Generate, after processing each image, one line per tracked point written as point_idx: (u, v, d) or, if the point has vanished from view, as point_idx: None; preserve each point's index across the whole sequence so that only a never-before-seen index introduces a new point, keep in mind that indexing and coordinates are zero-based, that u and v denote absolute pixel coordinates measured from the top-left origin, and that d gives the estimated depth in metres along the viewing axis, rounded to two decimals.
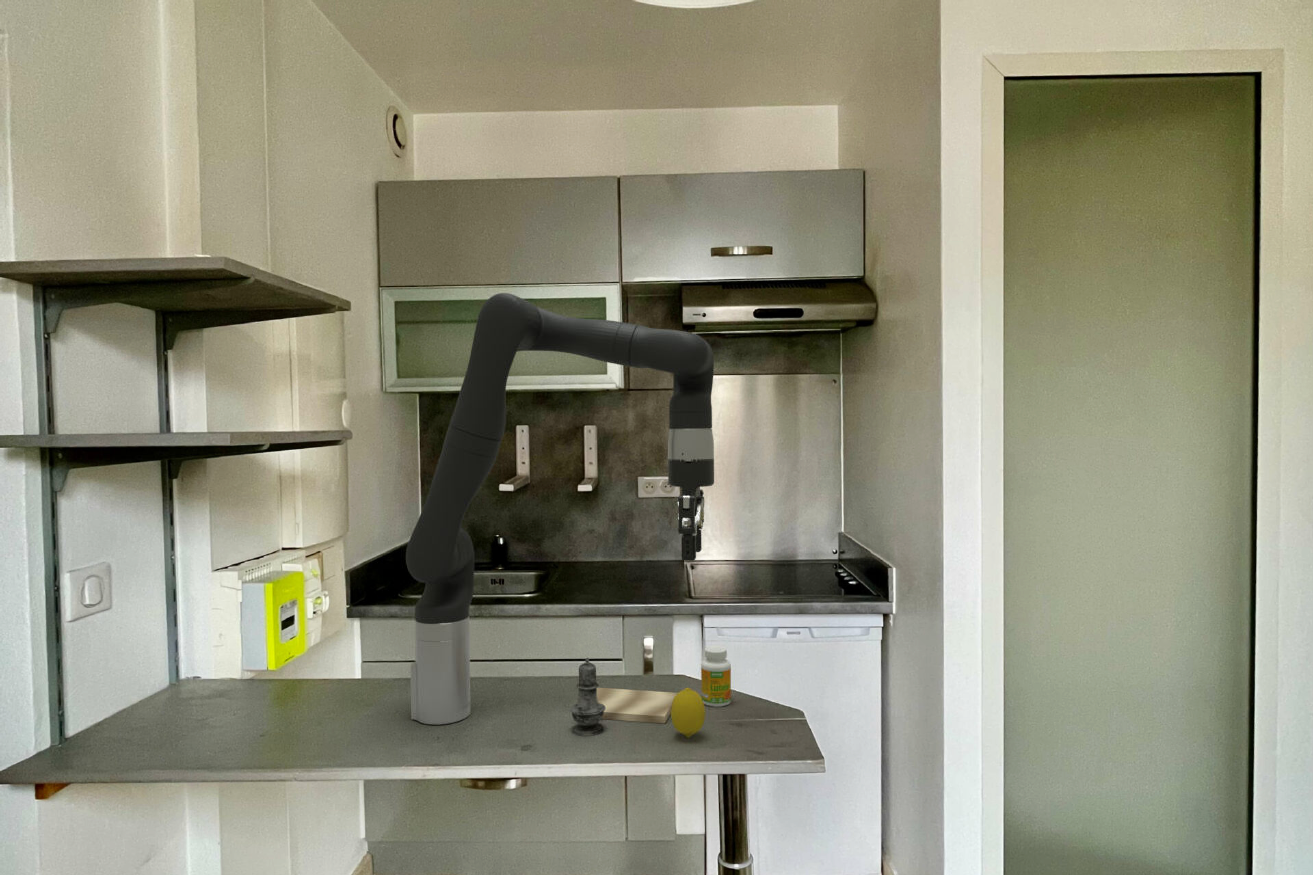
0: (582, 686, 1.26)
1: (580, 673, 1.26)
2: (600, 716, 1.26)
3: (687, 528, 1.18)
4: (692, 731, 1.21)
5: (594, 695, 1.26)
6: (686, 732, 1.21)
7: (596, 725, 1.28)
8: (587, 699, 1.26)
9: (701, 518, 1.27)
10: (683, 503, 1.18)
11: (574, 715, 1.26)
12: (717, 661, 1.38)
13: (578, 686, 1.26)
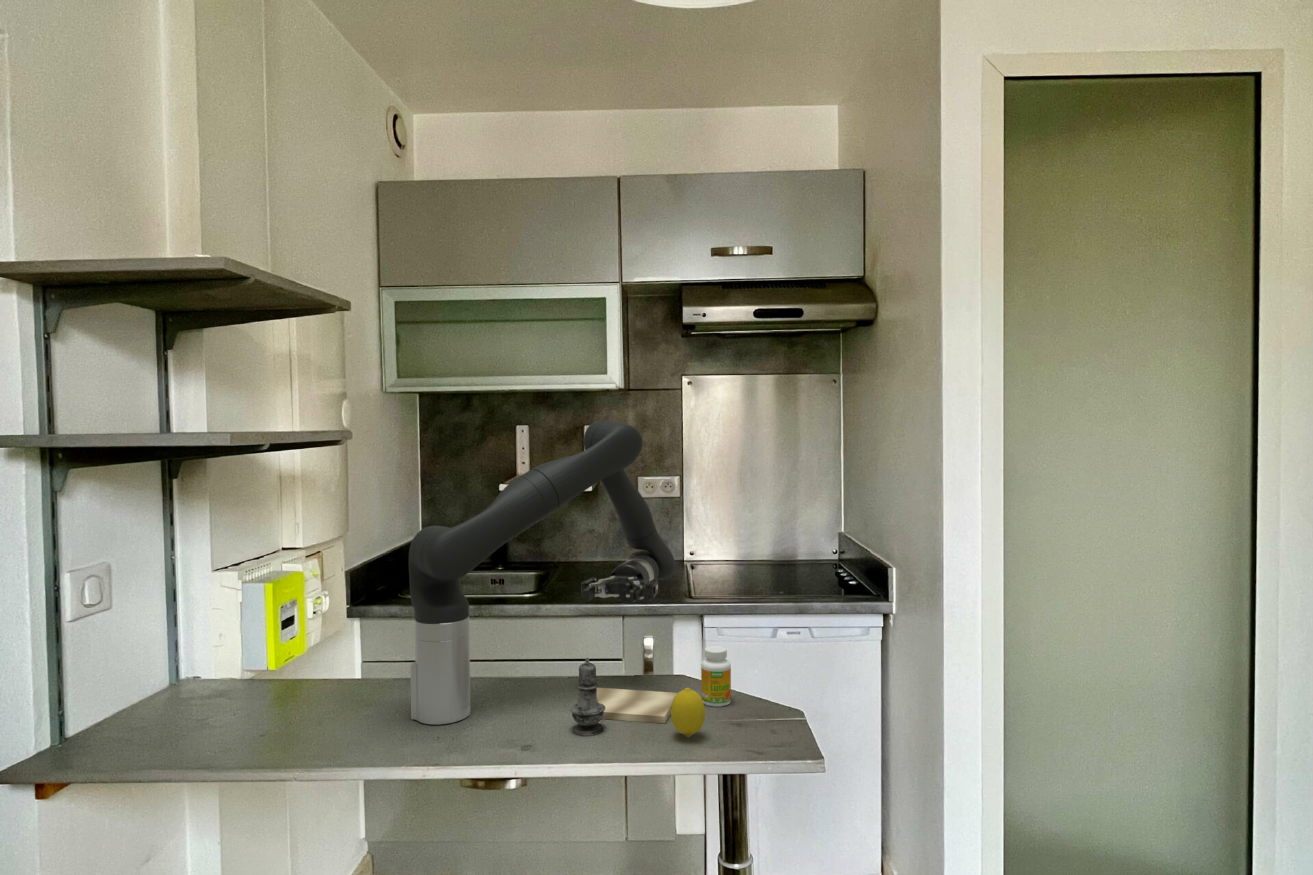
0: (582, 686, 1.26)
1: (580, 673, 1.26)
2: (600, 716, 1.26)
3: (653, 591, 1.43)
4: (692, 731, 1.21)
5: (594, 695, 1.26)
6: (686, 732, 1.21)
7: (596, 725, 1.28)
8: (587, 699, 1.26)
9: (603, 595, 1.46)
10: (657, 584, 1.47)
11: (574, 715, 1.26)
12: (717, 661, 1.38)
13: (578, 686, 1.26)
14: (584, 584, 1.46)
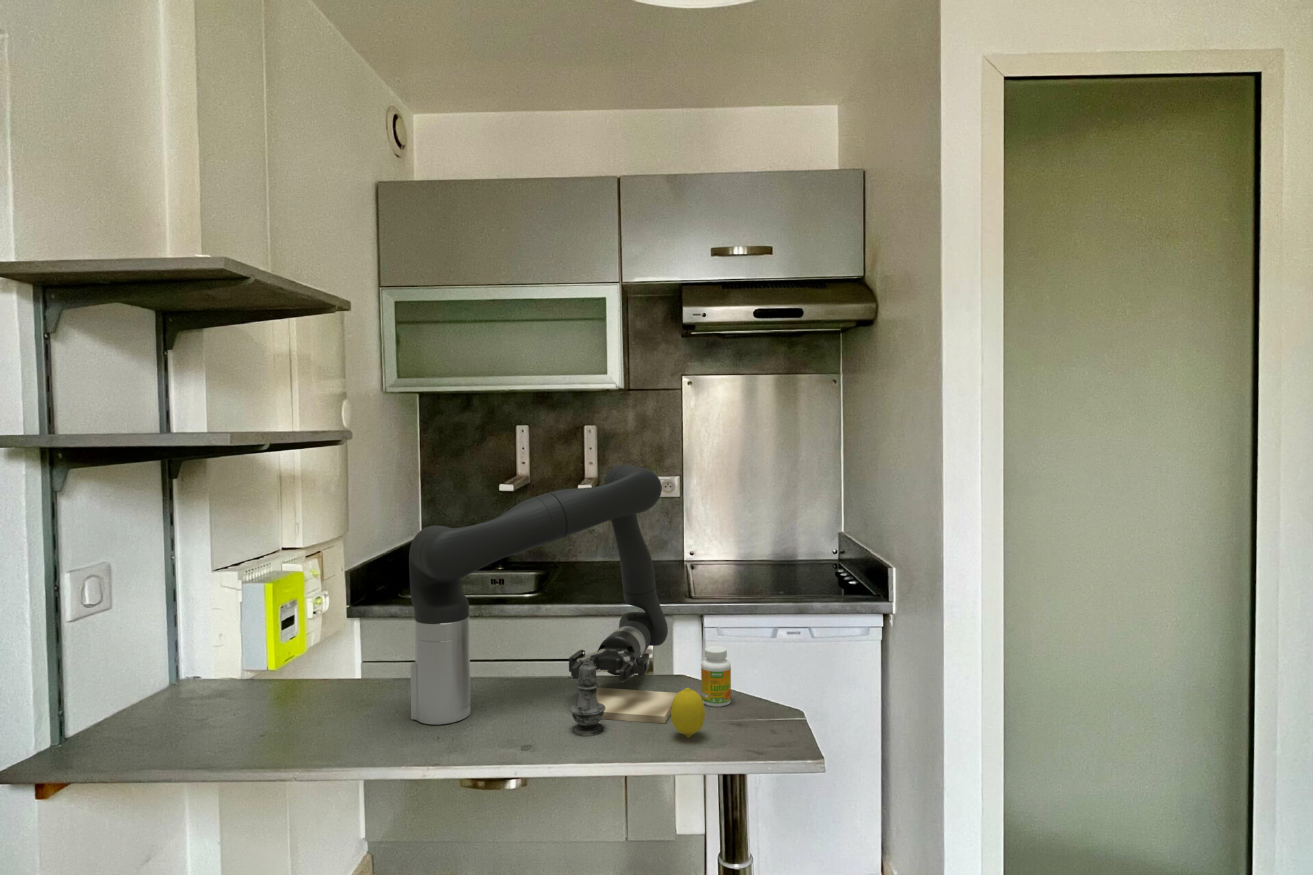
0: (582, 686, 1.26)
1: (580, 673, 1.26)
2: (600, 716, 1.26)
3: (644, 669, 1.37)
4: (692, 731, 1.21)
5: (594, 695, 1.26)
6: (686, 732, 1.21)
7: (596, 725, 1.28)
8: (587, 699, 1.26)
9: None
10: (648, 659, 1.40)
11: (574, 715, 1.26)
12: (717, 661, 1.38)
13: (578, 686, 1.26)
14: (572, 659, 1.39)
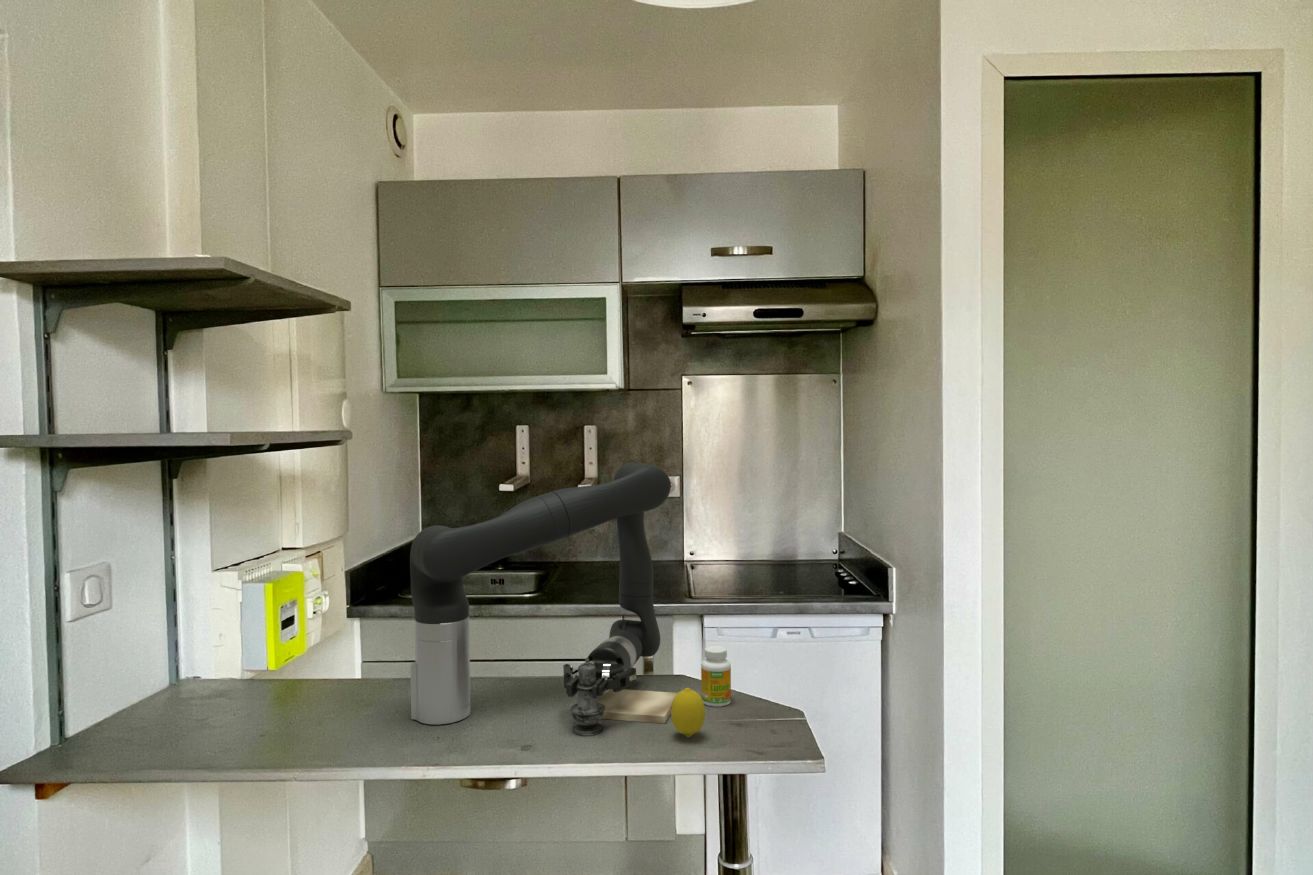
0: (582, 686, 1.26)
1: (580, 673, 1.26)
2: (600, 716, 1.26)
3: (619, 684, 1.28)
4: (692, 731, 1.21)
5: None
6: (686, 732, 1.21)
7: (596, 724, 1.28)
8: (587, 699, 1.26)
9: None
10: (633, 674, 1.31)
11: (574, 715, 1.26)
12: (717, 661, 1.38)
13: (578, 686, 1.26)
14: (568, 675, 1.30)
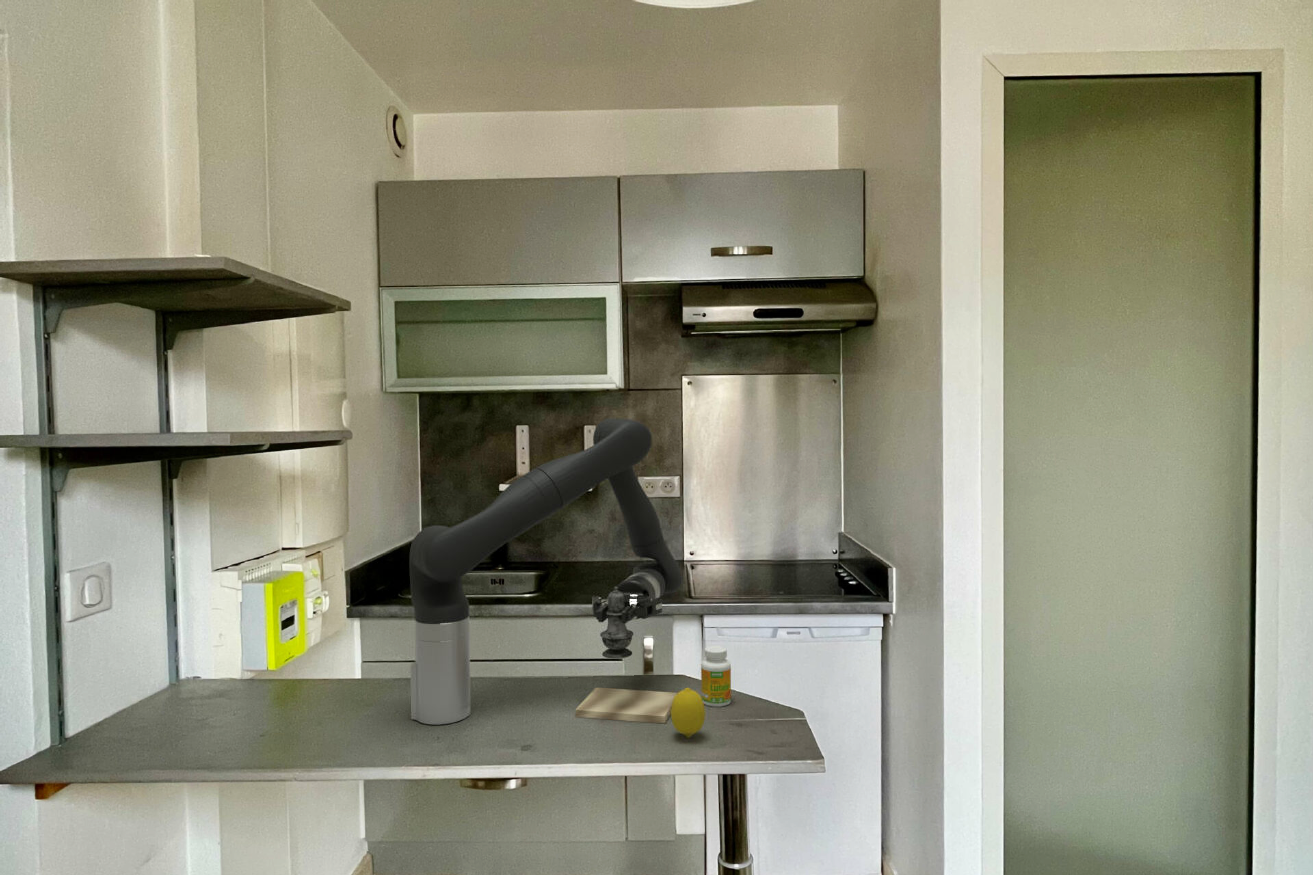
0: (612, 612, 1.33)
1: (609, 600, 1.33)
2: (629, 641, 1.33)
3: (646, 611, 1.35)
4: (692, 731, 1.21)
5: None
6: (686, 732, 1.21)
7: (624, 650, 1.35)
8: (616, 624, 1.32)
9: None
10: (659, 604, 1.38)
11: (604, 640, 1.32)
12: (717, 661, 1.38)
13: (607, 613, 1.33)
14: (597, 603, 1.37)
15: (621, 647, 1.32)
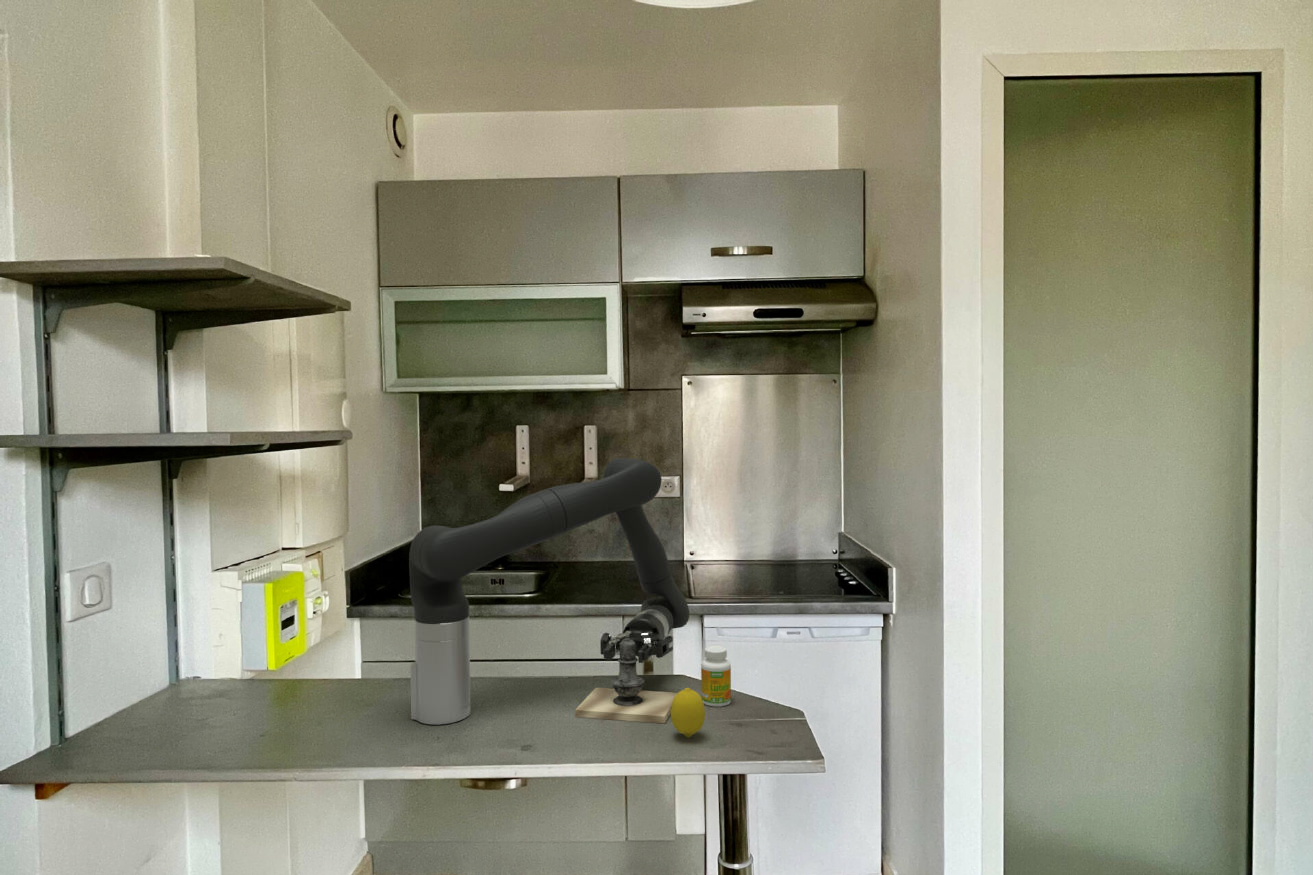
0: (623, 660, 1.36)
1: (621, 648, 1.36)
2: (640, 688, 1.36)
3: (662, 650, 1.38)
4: (692, 731, 1.21)
5: (634, 668, 1.36)
6: (686, 732, 1.21)
7: (635, 696, 1.38)
8: (627, 672, 1.36)
9: None
10: (671, 642, 1.42)
11: (616, 687, 1.36)
12: (717, 661, 1.38)
13: (619, 660, 1.36)
14: (604, 642, 1.40)
15: (632, 694, 1.35)
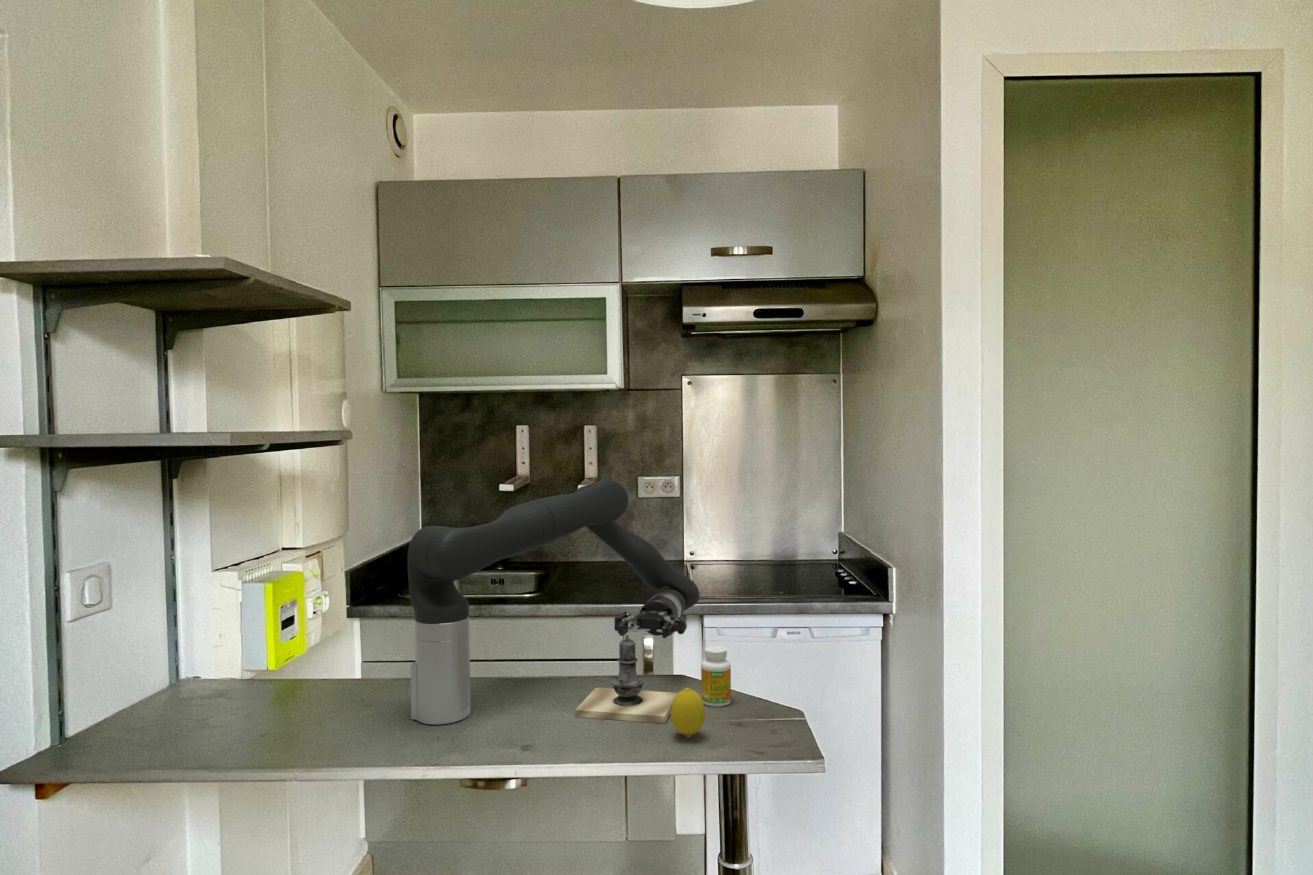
0: (623, 660, 1.36)
1: (621, 648, 1.36)
2: (640, 688, 1.36)
3: None
4: (692, 731, 1.21)
5: (634, 669, 1.36)
6: (686, 732, 1.21)
7: (635, 696, 1.38)
8: (627, 672, 1.36)
9: (635, 630, 1.54)
10: (686, 620, 1.55)
11: (615, 687, 1.36)
12: (717, 661, 1.38)
13: (619, 660, 1.36)
14: (617, 619, 1.53)
15: (632, 695, 1.35)
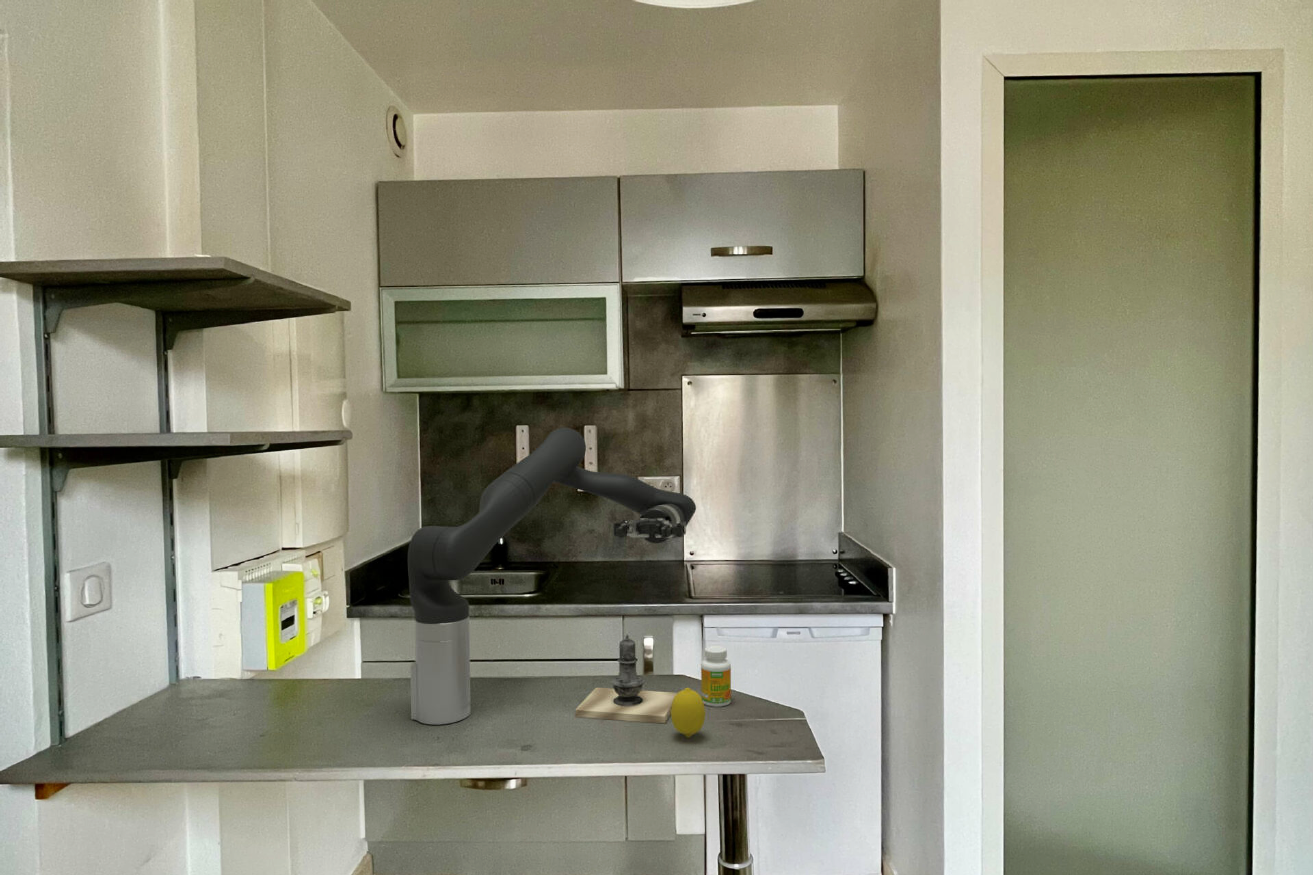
0: (623, 660, 1.36)
1: (621, 648, 1.36)
2: (640, 688, 1.36)
3: None
4: (692, 731, 1.21)
5: (634, 669, 1.36)
6: (686, 732, 1.21)
7: (635, 696, 1.38)
8: (627, 672, 1.36)
9: (634, 535, 1.54)
10: (685, 525, 1.55)
11: (615, 687, 1.36)
12: (717, 661, 1.38)
13: (619, 660, 1.36)
14: (616, 524, 1.54)
15: (632, 695, 1.35)
